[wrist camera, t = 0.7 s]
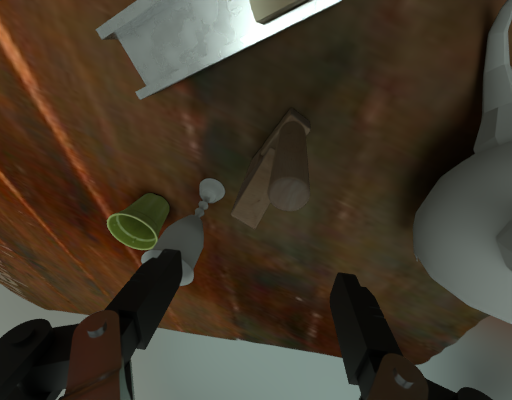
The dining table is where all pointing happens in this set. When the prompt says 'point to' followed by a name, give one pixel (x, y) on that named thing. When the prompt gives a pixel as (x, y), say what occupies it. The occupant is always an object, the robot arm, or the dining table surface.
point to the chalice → (188, 232)
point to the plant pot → (140, 222)
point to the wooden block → (276, 172)
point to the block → (273, 8)
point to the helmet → (477, 199)
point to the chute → (192, 35)
